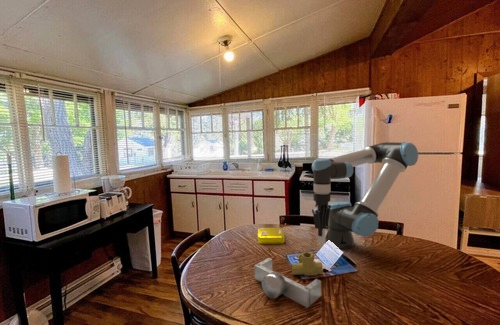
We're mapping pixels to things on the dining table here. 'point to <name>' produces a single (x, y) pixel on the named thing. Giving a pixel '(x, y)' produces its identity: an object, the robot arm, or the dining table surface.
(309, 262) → the brass pipe tee
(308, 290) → the grey bracket with knob
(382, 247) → the dining table surface
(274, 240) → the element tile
